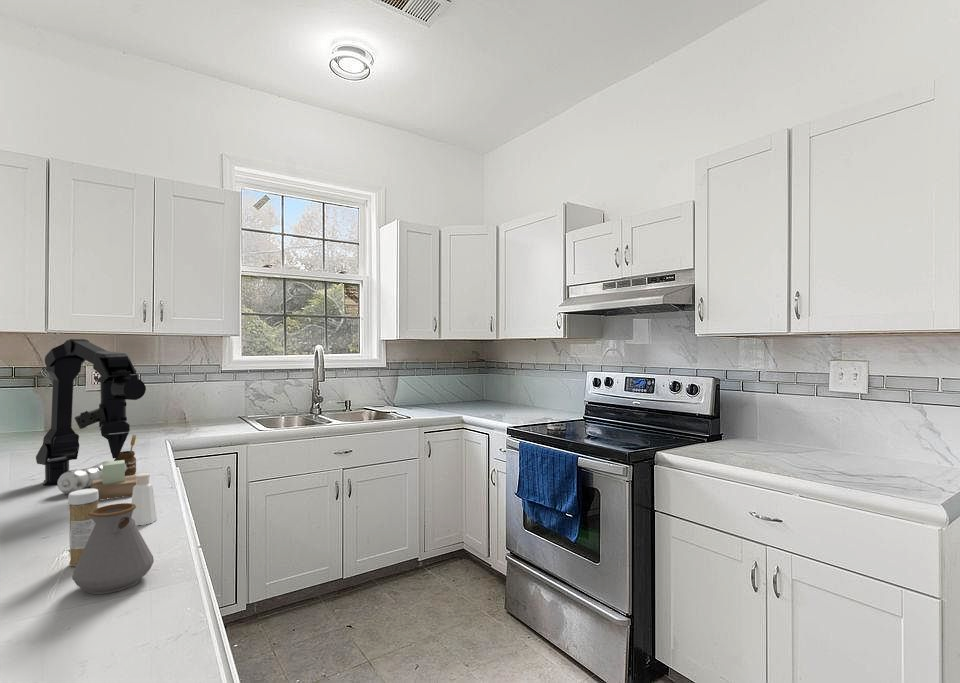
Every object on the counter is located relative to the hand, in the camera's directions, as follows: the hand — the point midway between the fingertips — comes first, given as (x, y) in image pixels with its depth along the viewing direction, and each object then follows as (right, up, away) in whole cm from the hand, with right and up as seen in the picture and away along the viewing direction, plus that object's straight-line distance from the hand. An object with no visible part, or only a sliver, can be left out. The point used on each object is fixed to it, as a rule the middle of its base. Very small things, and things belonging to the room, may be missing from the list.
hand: (114, 455), depth 147 cm
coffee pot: (+41, -10, -59) cm, 73 cm away
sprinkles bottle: (+26, -10, -46) cm, 54 cm away
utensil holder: (-12, -11, +22) cm, 28 cm away
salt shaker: (+23, -10, -24) cm, 35 cm away
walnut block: (0, -11, 0) cm, 11 cm away
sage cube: (0, -7, 0) cm, 7 cm away
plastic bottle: (-13, -8, -2) cm, 15 cm away
